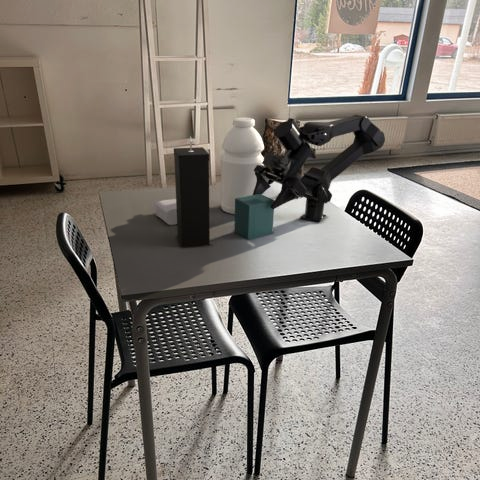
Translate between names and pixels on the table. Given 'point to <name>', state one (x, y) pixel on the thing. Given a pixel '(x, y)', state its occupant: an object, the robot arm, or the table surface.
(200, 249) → the table surface
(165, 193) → the table surface
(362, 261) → the table surface
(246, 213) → the teal box
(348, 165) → the robot arm
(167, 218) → the charger
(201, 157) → the tall black block
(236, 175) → the bottle
